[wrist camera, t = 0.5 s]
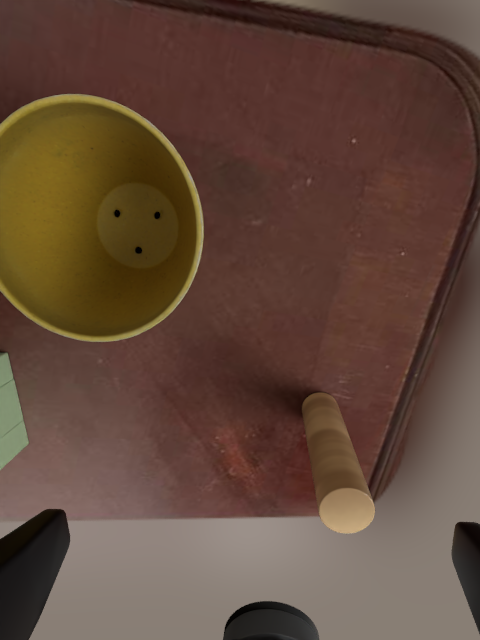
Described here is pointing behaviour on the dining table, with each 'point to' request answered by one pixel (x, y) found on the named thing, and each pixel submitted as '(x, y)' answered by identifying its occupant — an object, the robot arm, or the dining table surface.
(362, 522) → the peg
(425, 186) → the dining table surface
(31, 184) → the flower pot
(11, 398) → the peg board
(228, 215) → the dining table surface
